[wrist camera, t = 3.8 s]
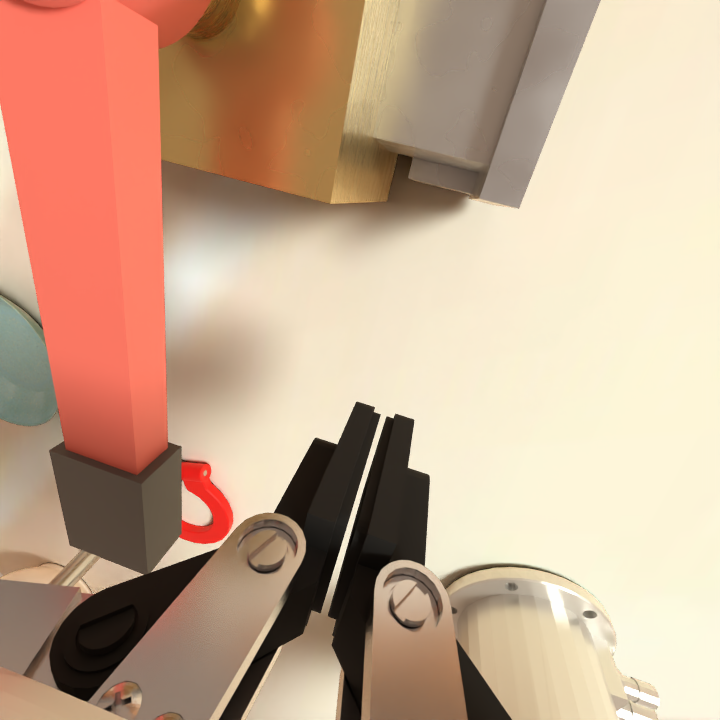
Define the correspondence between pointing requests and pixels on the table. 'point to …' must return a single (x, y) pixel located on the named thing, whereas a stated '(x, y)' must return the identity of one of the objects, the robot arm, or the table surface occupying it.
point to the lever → (99, 254)
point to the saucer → (24, 369)
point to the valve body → (370, 93)
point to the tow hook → (207, 492)
